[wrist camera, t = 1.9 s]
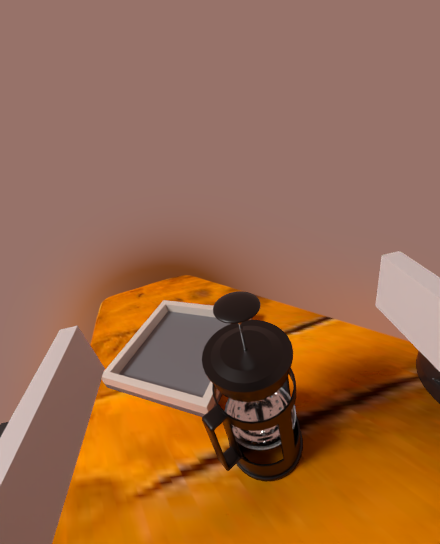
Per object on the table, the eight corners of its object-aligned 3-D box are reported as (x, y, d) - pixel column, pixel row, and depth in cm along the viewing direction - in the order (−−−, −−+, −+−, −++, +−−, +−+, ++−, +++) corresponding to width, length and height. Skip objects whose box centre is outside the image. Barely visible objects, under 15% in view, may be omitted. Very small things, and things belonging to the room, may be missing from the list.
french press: (268, 390, 42) (245, 260, 30) (322, 437, 35) (320, 293, 23) (205, 446, 37) (148, 317, 25) (254, 515, 30) (206, 382, 18)
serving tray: (252, 321, 55) (250, 310, 53) (211, 419, 40) (206, 407, 38) (167, 310, 64) (163, 300, 62) (107, 387, 48) (99, 376, 47)
